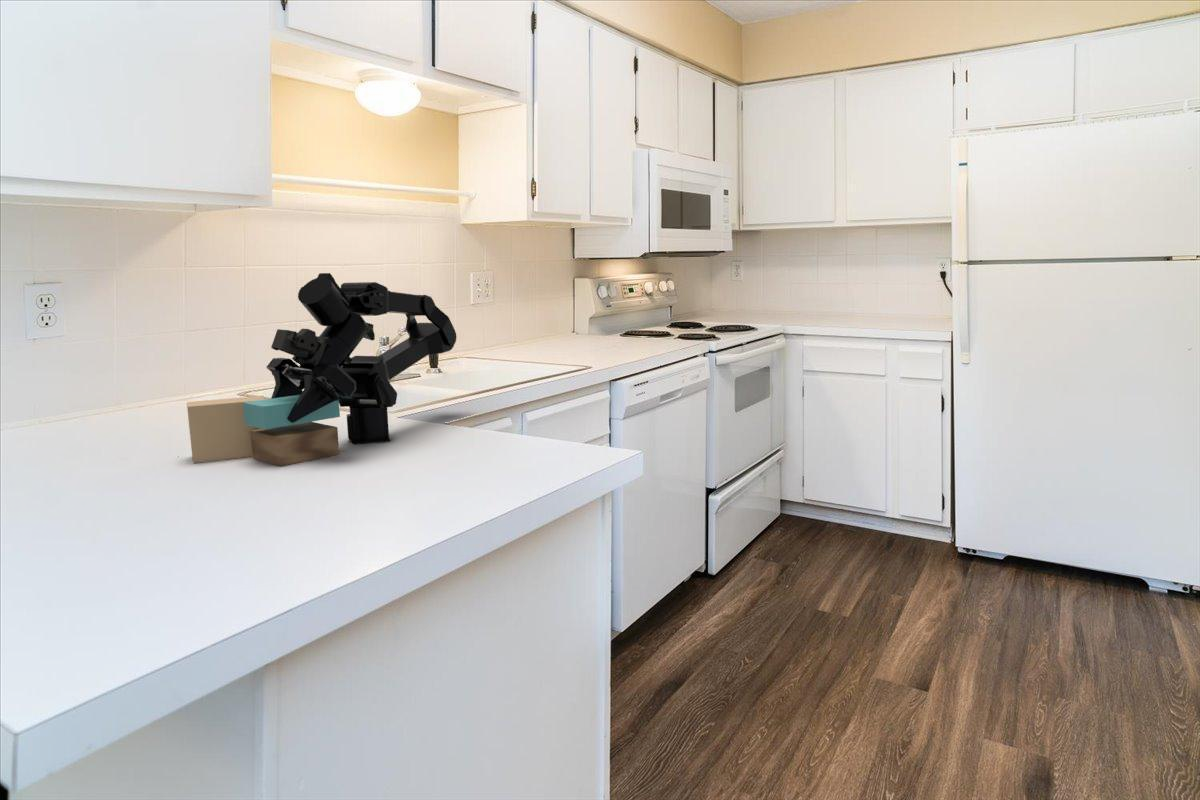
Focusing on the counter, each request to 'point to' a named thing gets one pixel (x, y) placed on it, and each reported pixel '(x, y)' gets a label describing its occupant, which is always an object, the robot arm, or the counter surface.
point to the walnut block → (294, 443)
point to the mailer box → (219, 429)
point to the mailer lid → (283, 412)
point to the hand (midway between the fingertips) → (278, 418)
